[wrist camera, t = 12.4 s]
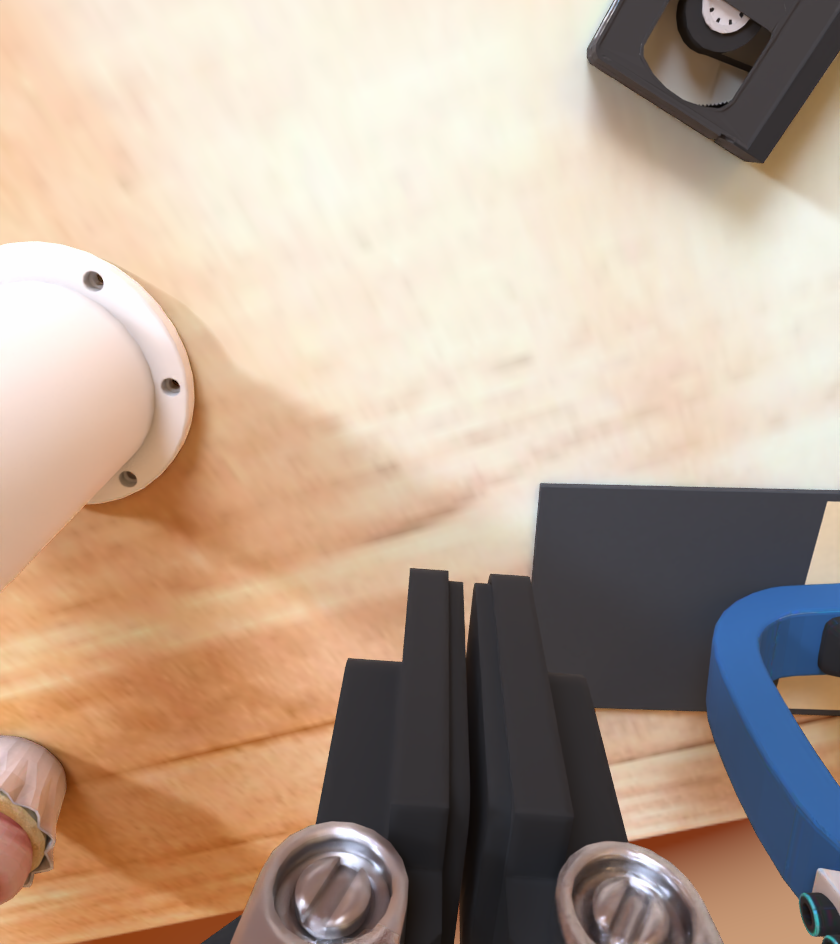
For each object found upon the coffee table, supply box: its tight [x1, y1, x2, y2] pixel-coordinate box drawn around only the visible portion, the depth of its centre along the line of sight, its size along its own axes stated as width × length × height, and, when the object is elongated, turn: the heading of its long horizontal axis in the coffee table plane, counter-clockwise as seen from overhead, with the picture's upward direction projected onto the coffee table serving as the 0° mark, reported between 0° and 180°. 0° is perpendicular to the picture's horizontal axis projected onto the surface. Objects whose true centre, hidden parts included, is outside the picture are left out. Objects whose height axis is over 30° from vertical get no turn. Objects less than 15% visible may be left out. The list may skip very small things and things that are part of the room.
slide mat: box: [531, 483, 840, 716], centre depth 39 cm, size 28×14×1 cm, turn 89°
